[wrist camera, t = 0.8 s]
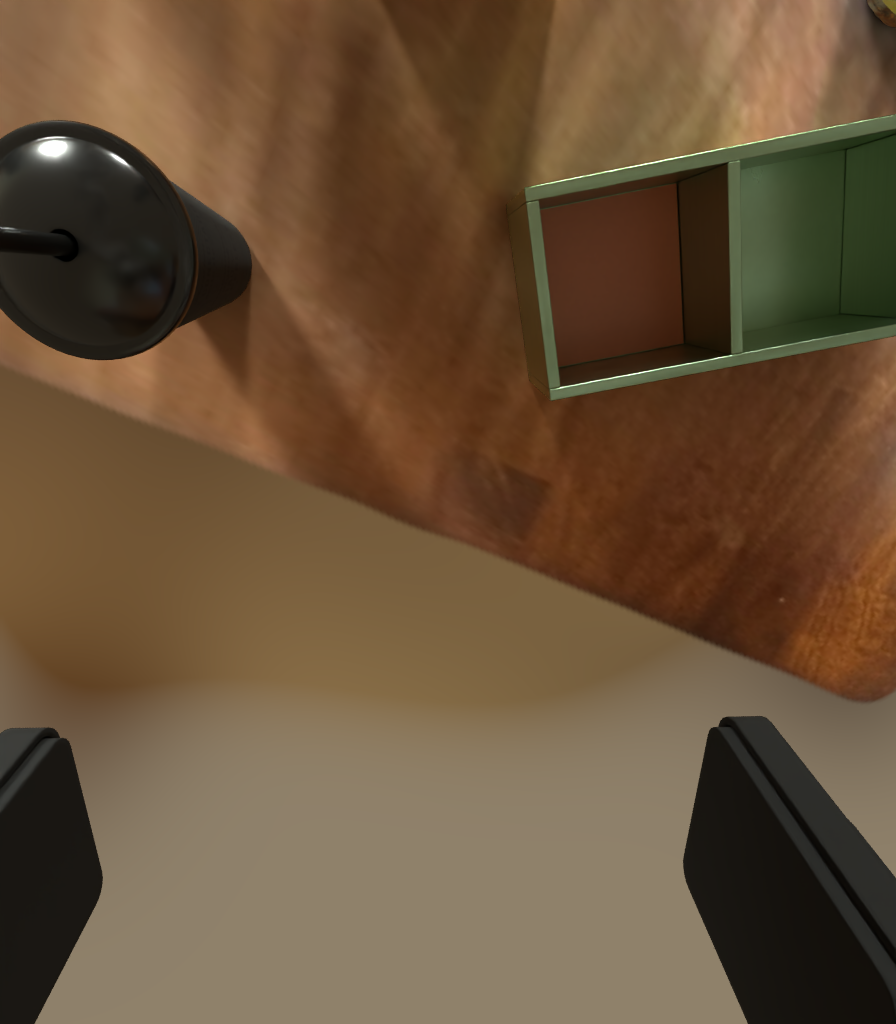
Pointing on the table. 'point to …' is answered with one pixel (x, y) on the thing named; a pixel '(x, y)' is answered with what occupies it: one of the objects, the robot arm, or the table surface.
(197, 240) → the drinking cup
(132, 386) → the table surface
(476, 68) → the table surface
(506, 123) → the table surface
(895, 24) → the sauce bottle
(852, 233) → the caddy
